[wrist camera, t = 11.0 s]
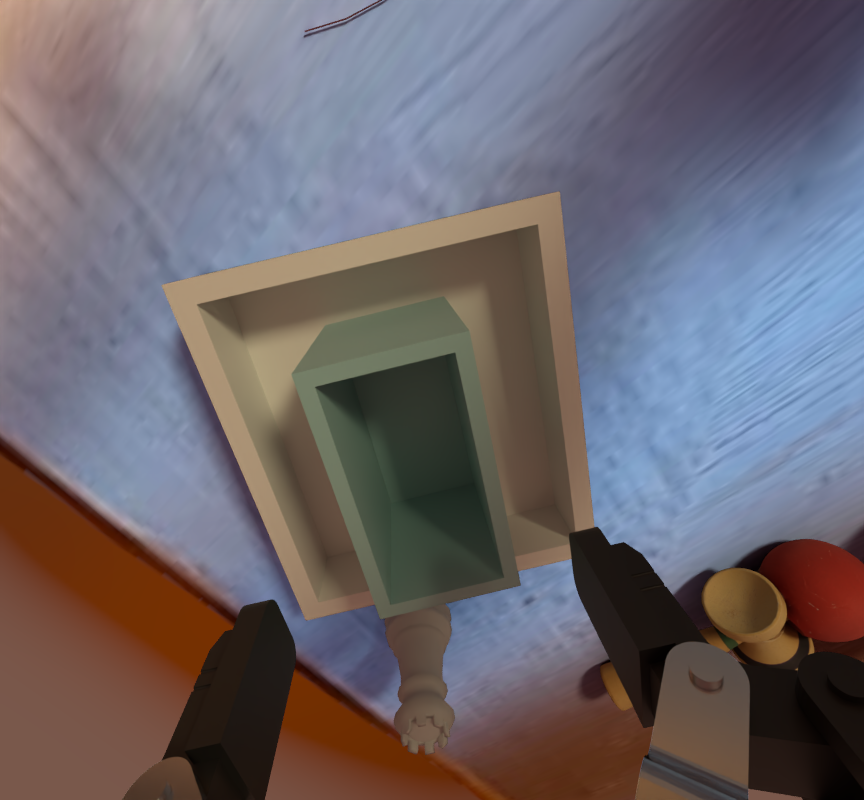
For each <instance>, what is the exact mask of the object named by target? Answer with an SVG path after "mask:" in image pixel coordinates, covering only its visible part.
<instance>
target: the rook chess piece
mask: <svg viewBox="0 0 864 800" xmlns="http://www.w3.org/2000/svg"><path fill="white" fill-rule="evenodd" d="M450 621H451V615H450V610H449V608H448V607H447V606H446V605H445V604H442V605H438V606H434V607H429V608H425V609H421V610H417V611H413V612H409V613H405V614H400V615H396V616H392V617H388V618H385V621H384V622H385V626H386V632H385V634H386V637H387V641H388V644H389V647H390V648H391V649H392V650H393V653H394V655H395V656H396V658H397V659H398V663H399V669H400V675H401V686H400V687H399V690H398V697H399V701H400V702H401V703H402V705H401V707H400V708H399V710H398V711H397V712H396V714H395V718H394V725H395V728H396V730H397V731H398V732H399V734H400V735H401V742H402V745H403V746H406V745H408V752H411V753H414V754H417V752H418V745H425V755H427V754H432V753H435V752H434V743H436V742H438V744H439V747H440V748H442V749H443V748H444V747H445V746H446V745H447V744H448V739H447V737H450V731H449V730H450V728H451V727H452V725H453V722H454V719H455V715H454V711H453V709H452V708H451V707H450V706H449V705H448V704H447V703H446V702H445V701H444V699H445V698H446V695H447V692H448V690H447V686H446V684H445V683H444V681H443V677H442V667H443V654H444V653H445V650H446V647H447V645H448V643H449V639H450V636H451V632H452V628H451V623H450Z"/></svg>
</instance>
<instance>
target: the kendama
mask: <svg viewBox="0 0 864 800" xmlns="http://www.w3.org/2000/svg"><path fill="white" fill-rule="evenodd" d="M701 596H702V598H701V599H702V605H703V608H704V610H705V612H706V614H707V616H708V618H709V619H710V621H711V622H712V624H713V625H714V626H712V627H709V628H705V629H702V630H699V631H700V633H701V634H702V635H703V637H704V638H705V639H706V640H707V642H708V643H709V644H711V645H713V646H716V647H718V648H720V649H722V650H724V651H725V652H729V651H730V650H731V649H732V651H733V653H734V654H735V655H736V656H737V658H738V659H739V660H740V661H741V662H742V663H744V664H747V665H751V666H758V667H767V668H778V669H789V670H798V666H799V663H800V661H801V660H802V659H803V658H804V657H805V656H807V655H809V654H812V653H814V645H813V642H812V639H811V638H813V639H816V640H820V641H826V642H846V641H852V640H855V639H858V638H861V637H863V636H864V564H863V563H862V562H861V561H860V560H858V559H857V558H856V557H854V556H853V555H852V554H850V553H849V552H847V551H846V550H844V549H841V548H840V547H837V546H835V545H832V544H830V543H827V542H823V541H819V540H813V539H800V540H793V541H789V542H785V543H783V544H781V545H778V546H777V547H775V548H774V549H772V550H771V551H770V552H769V553H768V554H767V555H766V557H765V558H764V560H763V562H762V564H761V567H760V568H759V570H758V571H757V572H755V571H752V570H749V569H745V568H728V569H724V570H721V571H719V572H717V573H715V574H714V575H713V576H711V577H710V578H709V579H708V580H707V582H706V583H705V585H704V587H703V591H702V594H701ZM600 674H601V678H602V680H603V683H604V685H605V688H606V690H607V692H608V694H609V695H610V697H611V699H612V700H613V702H614V703H615V704H616V706H617V707H618V708H619V709H621V710H622V711H625V710H627V709H629V708H631V707H632V706H633V705H632V703H631V701H630V699H629V697H628V695H627V693H626V691H625V689H624V687H623V685H622V683H621V681H620V679H619V677H618V675H617V673H616V671H615V669H614V667H613V665H612V663H611V662H609V663H606V664H603V665H601V666H600Z"/></svg>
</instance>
